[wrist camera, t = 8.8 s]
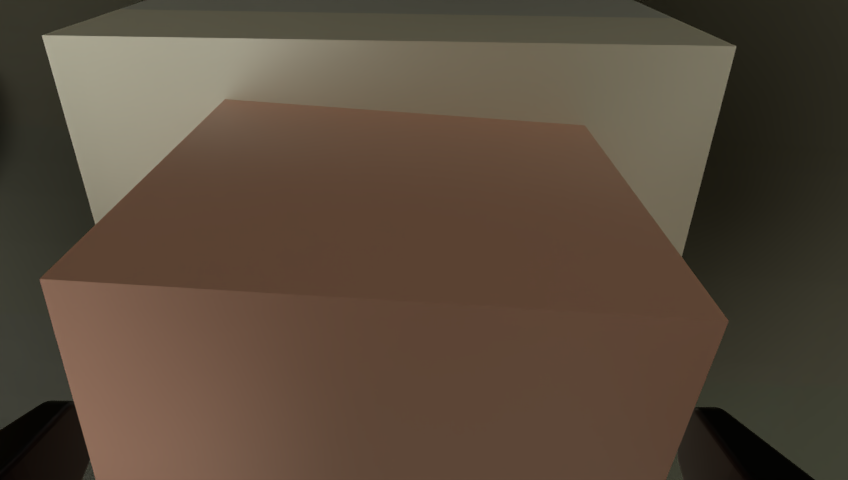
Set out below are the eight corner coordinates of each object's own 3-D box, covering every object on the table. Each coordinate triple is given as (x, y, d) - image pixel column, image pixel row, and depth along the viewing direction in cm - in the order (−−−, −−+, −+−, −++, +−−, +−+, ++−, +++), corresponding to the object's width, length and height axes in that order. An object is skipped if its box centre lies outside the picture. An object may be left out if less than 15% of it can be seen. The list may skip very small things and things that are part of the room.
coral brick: (510, 477, 13) (553, 763, 9) (256, 465, 13) (171, 750, 9) (584, 125, 9) (728, 321, 5) (225, 99, 9) (39, 279, 5)
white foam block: (570, 357, 18) (617, 503, 14) (234, 353, 18) (172, 499, 13) (631, -1, 13) (736, 45, 9) (170, -8, 13) (41, 34, 9)
